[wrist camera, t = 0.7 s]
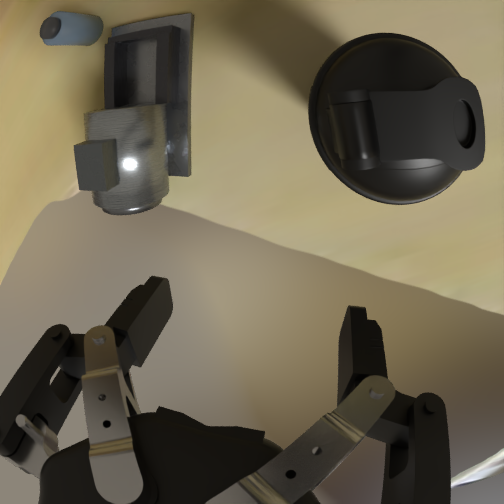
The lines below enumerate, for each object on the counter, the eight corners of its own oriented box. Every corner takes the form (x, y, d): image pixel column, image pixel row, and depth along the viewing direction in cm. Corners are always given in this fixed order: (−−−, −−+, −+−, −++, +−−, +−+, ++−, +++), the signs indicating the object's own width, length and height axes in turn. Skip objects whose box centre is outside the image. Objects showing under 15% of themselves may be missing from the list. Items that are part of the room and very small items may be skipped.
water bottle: (402, 142, 31) (503, 219, 12) (322, 152, 34) (327, 240, 15) (387, 61, 27) (487, 26, 7) (303, 71, 30) (281, 32, 10)
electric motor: (116, 29, 30) (49, 21, 18) (194, 14, 28) (138, -12, 17) (120, 185, 42) (62, 221, 31) (191, 190, 40) (143, 233, 29)
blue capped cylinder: (80, 20, 29) (37, 17, 21) (104, 12, 28) (61, 5, 20) (78, 48, 31) (34, 49, 24) (102, 41, 31) (58, 39, 23)
